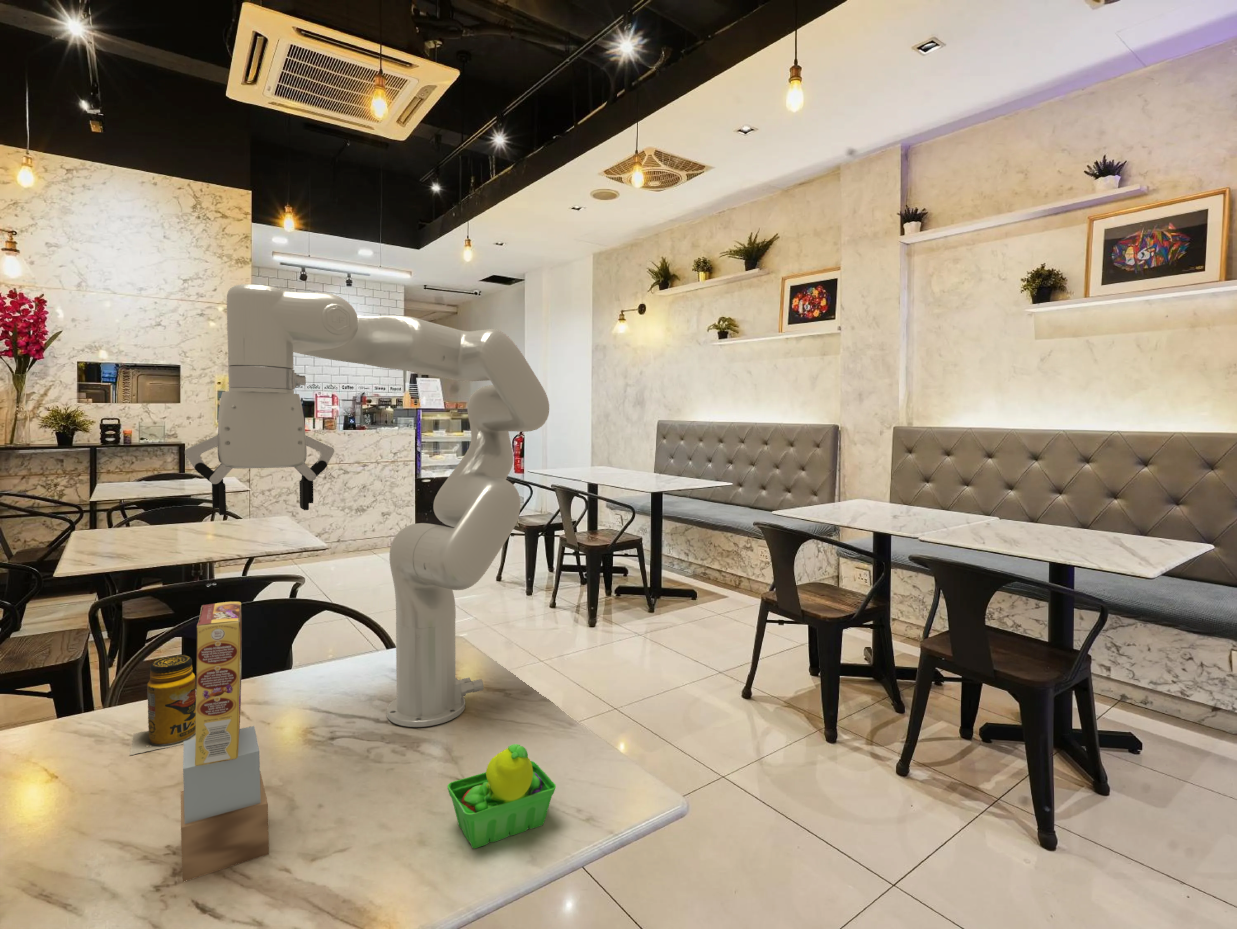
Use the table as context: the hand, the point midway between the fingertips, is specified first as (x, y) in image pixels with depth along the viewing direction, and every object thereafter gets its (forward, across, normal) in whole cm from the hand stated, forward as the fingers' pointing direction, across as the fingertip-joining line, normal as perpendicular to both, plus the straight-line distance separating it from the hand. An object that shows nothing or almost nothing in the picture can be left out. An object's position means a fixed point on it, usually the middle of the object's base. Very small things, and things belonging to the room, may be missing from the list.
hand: (264, 511), depth 85 cm
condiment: (+37, +12, -20) cm, 43 cm away
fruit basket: (+37, -22, +28) cm, 51 cm away
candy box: (+25, +6, +14) cm, 29 cm away
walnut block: (+36, +6, +14) cm, 40 cm away
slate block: (+31, +6, +14) cm, 34 cm away
